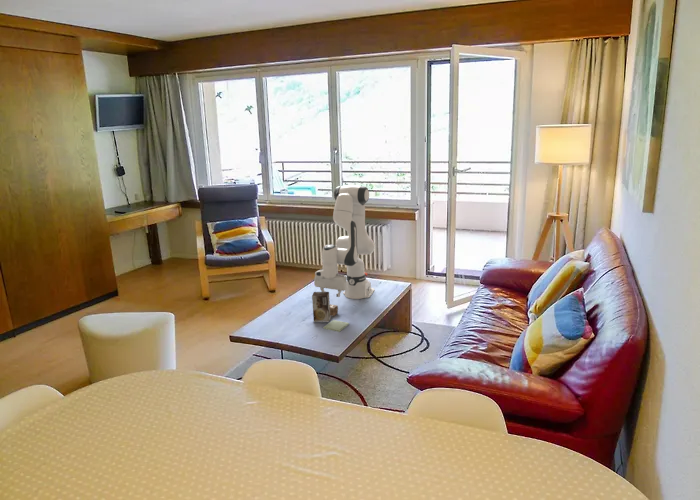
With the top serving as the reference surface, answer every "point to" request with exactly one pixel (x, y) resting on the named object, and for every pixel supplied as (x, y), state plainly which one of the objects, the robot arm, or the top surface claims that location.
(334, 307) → the walnut cube
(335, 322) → the sage board
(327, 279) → the robot arm
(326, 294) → the coffee box
